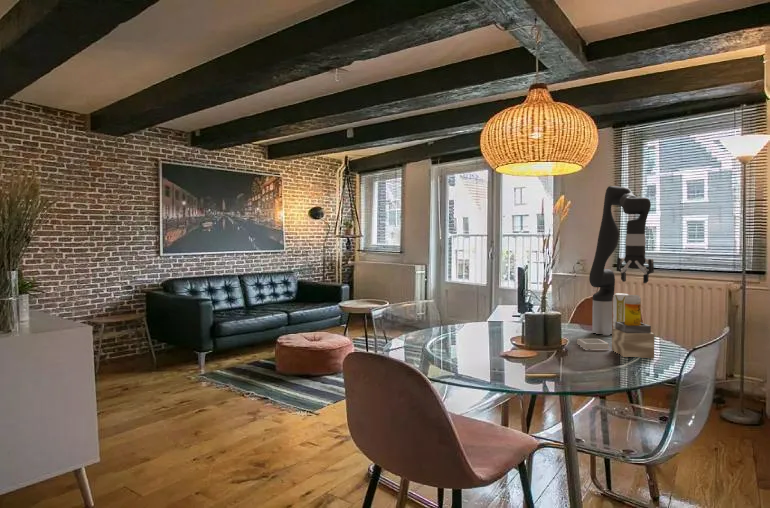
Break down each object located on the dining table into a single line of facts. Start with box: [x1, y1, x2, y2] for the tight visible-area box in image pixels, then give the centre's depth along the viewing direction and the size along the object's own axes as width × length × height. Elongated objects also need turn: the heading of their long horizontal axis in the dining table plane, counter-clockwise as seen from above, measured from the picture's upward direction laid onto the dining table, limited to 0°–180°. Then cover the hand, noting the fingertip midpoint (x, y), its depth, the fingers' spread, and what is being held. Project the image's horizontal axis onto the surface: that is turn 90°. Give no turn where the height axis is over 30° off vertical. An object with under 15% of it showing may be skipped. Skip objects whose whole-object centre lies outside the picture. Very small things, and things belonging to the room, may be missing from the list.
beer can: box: [625, 294, 642, 326], centre depth 205 cm, size 6×6×15 cm
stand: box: [611, 322, 656, 359], centre depth 205 cm, size 12×12×13 cm
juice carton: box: [612, 292, 629, 328], centre depth 259 cm, size 8×9×19 cm
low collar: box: [576, 338, 610, 349], centre depth 218 cm, size 10×10×3 cm
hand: (634, 282), depth 207 cm, fingers open, 8 cm apart
